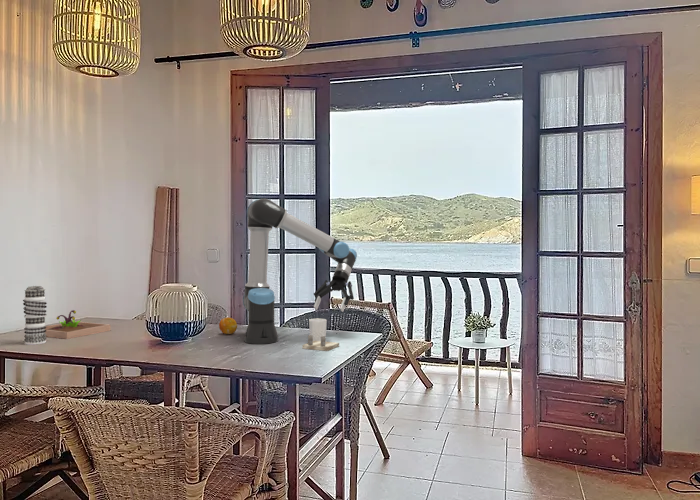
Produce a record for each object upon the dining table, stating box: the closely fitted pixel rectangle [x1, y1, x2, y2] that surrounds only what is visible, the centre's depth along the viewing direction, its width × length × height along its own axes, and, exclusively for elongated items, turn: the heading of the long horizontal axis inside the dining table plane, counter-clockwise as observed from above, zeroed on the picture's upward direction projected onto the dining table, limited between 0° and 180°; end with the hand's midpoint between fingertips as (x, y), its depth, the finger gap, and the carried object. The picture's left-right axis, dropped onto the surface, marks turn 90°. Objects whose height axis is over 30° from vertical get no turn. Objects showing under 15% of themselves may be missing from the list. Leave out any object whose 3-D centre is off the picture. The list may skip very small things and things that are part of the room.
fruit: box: [218, 316, 238, 335], centre depth 271 cm, size 8×9×8 cm
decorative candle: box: [22, 285, 48, 346], centre depth 248 cm, size 9×9×25 cm
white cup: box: [308, 318, 328, 341], centre depth 251 cm, size 8×8×10 cm
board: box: [302, 334, 340, 352], centre depth 239 cm, size 12×11×6 cm
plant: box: [46, 309, 92, 332], centre depth 275 cm, size 20×20×11 cm
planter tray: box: [45, 320, 111, 340], centre depth 274 cm, size 25×25×3 cm
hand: (328, 309), depth 260 cm, fingers open, 13 cm apart
